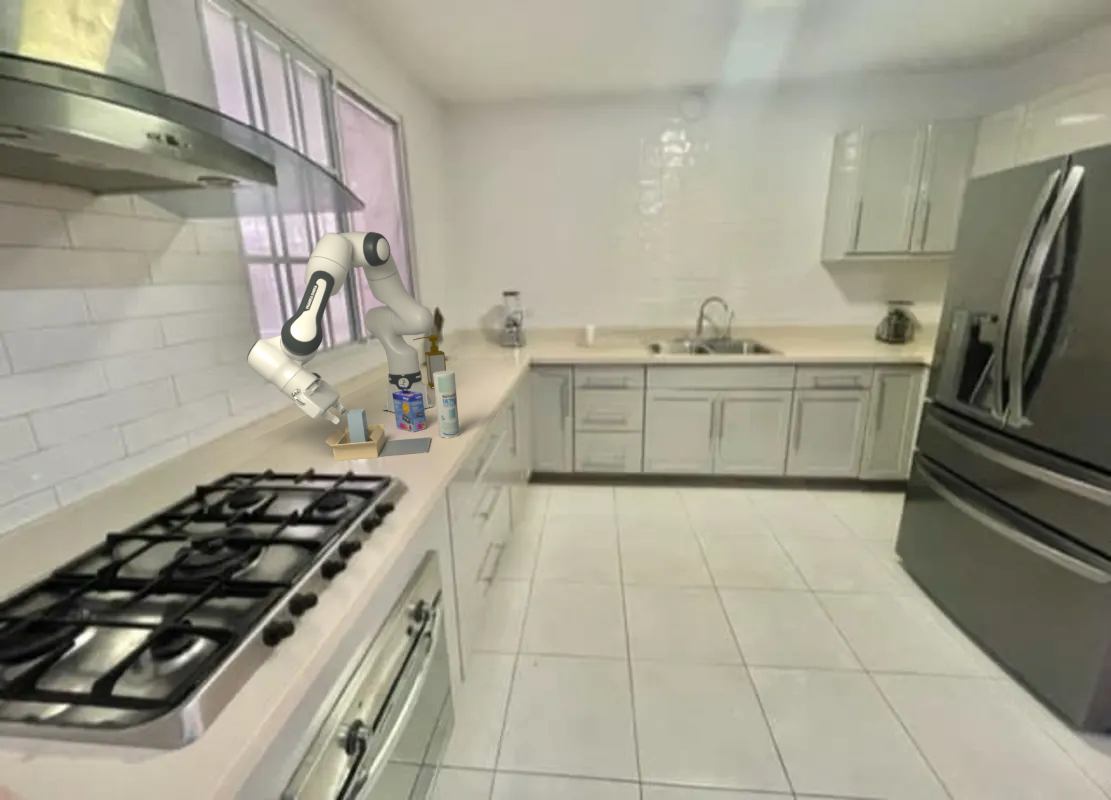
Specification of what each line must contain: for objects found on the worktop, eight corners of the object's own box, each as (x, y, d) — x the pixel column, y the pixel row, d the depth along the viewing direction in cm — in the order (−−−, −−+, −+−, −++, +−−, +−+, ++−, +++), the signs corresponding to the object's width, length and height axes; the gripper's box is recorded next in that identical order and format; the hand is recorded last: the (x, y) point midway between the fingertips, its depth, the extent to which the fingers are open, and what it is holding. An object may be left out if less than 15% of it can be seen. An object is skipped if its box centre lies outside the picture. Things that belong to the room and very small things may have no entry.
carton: (340, 444, 165) (338, 425, 164) (386, 440, 167) (384, 421, 166) (325, 464, 147) (321, 443, 146) (376, 459, 149) (374, 439, 148)
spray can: (444, 439, 165) (438, 375, 161) (435, 435, 170) (429, 372, 166) (463, 435, 169) (458, 372, 164) (454, 431, 174) (449, 369, 169)
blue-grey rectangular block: (355, 449, 160) (350, 409, 157) (369, 448, 160) (364, 408, 157) (352, 454, 155) (346, 414, 152) (366, 453, 155) (361, 413, 153)
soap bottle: (416, 387, 247) (410, 335, 241) (443, 383, 252) (439, 333, 246) (419, 390, 240) (414, 337, 235) (447, 386, 245) (442, 334, 240)
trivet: (387, 442, 165) (387, 440, 164) (431, 439, 166) (430, 437, 166) (380, 456, 152) (380, 454, 152) (427, 452, 154) (427, 450, 154)
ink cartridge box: (395, 428, 180) (390, 385, 177) (409, 424, 185) (404, 382, 181) (413, 432, 174) (408, 388, 171) (427, 428, 178) (422, 385, 175)
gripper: (297, 385, 141) (341, 418, 144) (318, 372, 161) (357, 401, 164) (282, 403, 141) (326, 436, 145) (305, 387, 161) (343, 416, 164)
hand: (342, 417), depth 155 cm, fingers open, 8 cm apart
